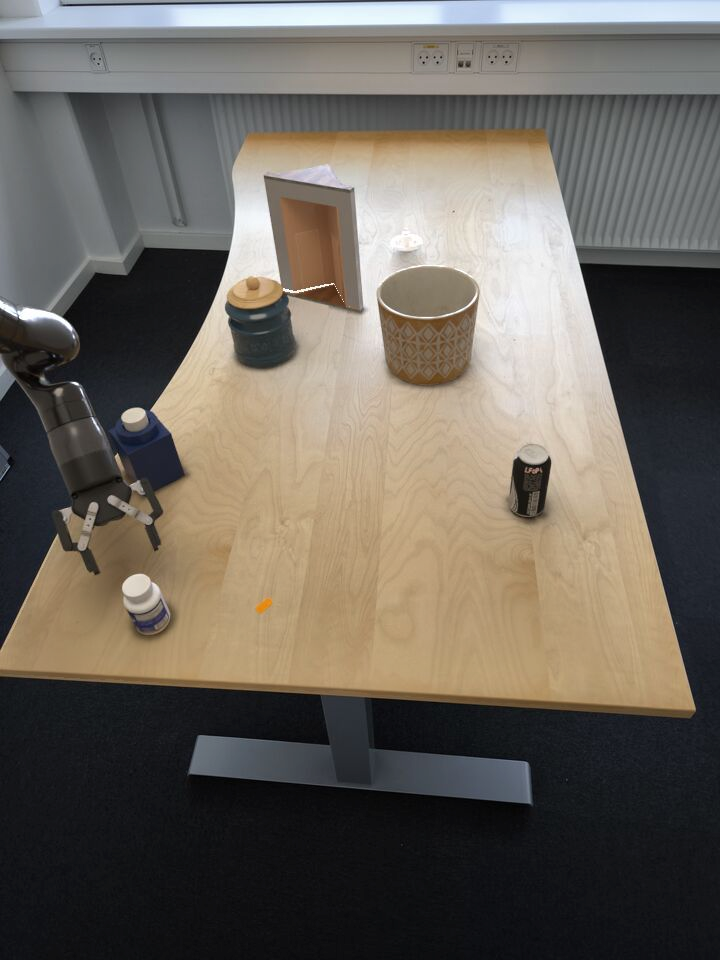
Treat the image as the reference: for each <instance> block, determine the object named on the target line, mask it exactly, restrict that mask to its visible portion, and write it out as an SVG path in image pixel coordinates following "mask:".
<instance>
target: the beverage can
mask: <svg viewBox="0 0 720 960" xmlns="http://www.w3.org/2000/svg"><path fill="white" fill-rule="evenodd" d="M511 468H512V469H511V475H510V476H511V477H510V487H509V497H508V506H509V508H510V510H511V511H512V512H513V513H515V514H516V515H518V516H521V517H526V518H529V517H530V518H531V517H532V518H533V517H536V516H538V515H540V514H541V513H542V512H543V511H544V509H545V506H546V500H547V494H548V487H549V481H550V476H551V475H550V474H551V470H552V458H551V456H550V454H549V451H548V449H547V448H546V447H545V446H543V445H542V444H539V443H534V442H532V443H526V444H523V445H521V446H520V447H519V449H518V451H517V452H516V453H515V454H514V456H513V460H512V467H511Z"/></svg>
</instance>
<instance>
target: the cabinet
mask: <svg viewBox="0 0 720 960" xmlns="http://www.w3.org/2000/svg"><path fill="white" fill-rule="evenodd" d="M263 181H264V182H263V183H264V188H265V193H266V199H267V206H268V212H269V213H268V214H269V219H270V224H271V225H270V226H271V230H272V236H273V237H272V238H273V244H274V249H275V256H276V261H277V268H278V273H279V280H280V284H281V286H282V288H285V289H289V290H293V291H297V290H301V289H306V288H310V287H315V286H320V285H324V284H331V283H334V284H335V285H334V284H333V285H329V286H325V287H321V288H316V289H312V290H308V291H304V292H299V293H290V292H285V291H284V292H285V293H286V294H287V296H288V297H292V298H296V299H301V300H305V301H309V302H314V303H317V304H321V305H325V306H330V307H333V308H338V309H341V310H346V311H351V312H354V313H357V314H358V313H360V314H361V313H362V312H363V311H364V299H363V284H362V271H361V258H360V246H359V233H358V232H359V231H358V219H357V218H358V217H357V205H356V193H355V186H352V185H346V184H343V183H342V182H341V181H340V179H339V177H338V176H337V175H336V174H335V172H334V171H333V169H332V168H331V167H330V165H329V164H328V163H326V164H320V165H315V166H311V167H306V168H301V169H295V170H292V171H287V172H282V173H274V172H266V173H265V174H263ZM335 286H336V287H335ZM336 288H337V289H336ZM337 290H338V291H337ZM338 292H339V293H338ZM340 295H341V296H340ZM342 299H343V300H342ZM343 301H344V302H343ZM349 306H350V307H349Z"/></svg>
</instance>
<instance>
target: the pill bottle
mask: <svg viewBox="0 0 720 960" xmlns="http://www.w3.org/2000/svg"><path fill="white" fill-rule="evenodd" d="M121 590H122V593H123V600H122V602H123V605H124V608H125V610H126V612H127V614H128V615H129V618H130V620H131V622H132V623H133V626H134V628H135V629H136V631H137V632H139V633H140V634H142V635H145V636H153V635H156V634H159V633H161V632H162V631H164V629H165V628H167V626H168V625H169V623H170V620H171V611H170V609H169V606H168V605H167V602H166V600H165V598H164V596H163V594H162V591H161V589H160V587H159V586H158V585H157V584H156V583H154V582H152V580H151V579H150V577H149V576H148V575H146V574H145V573H136V574H135V573H134V574H132V575H131V576H129V577H128V578H126V579H125V580H124V581H123V584H122V587H121Z"/></svg>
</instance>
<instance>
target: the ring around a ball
mask: <svg viewBox="0 0 720 960" xmlns="http://www.w3.org/2000/svg"><path fill="white" fill-rule="evenodd" d="M408 230H409V229H408V228H407V227H404V228H403V231H402V232H401V235H397V236H395V237H393V238H392V239H391V240H390V243H389V245H390V247H391V248H392V249H393V250H395V251H397V252H403V253H405V252H412V251H415V250H418V249H419V248H421V247H422V245H423V239H422V238H421V237H420V236H418V235H415V234H411V232H410V231H408ZM396 241H397V242H396ZM395 243H397V245H396V244H395Z"/></svg>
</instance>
